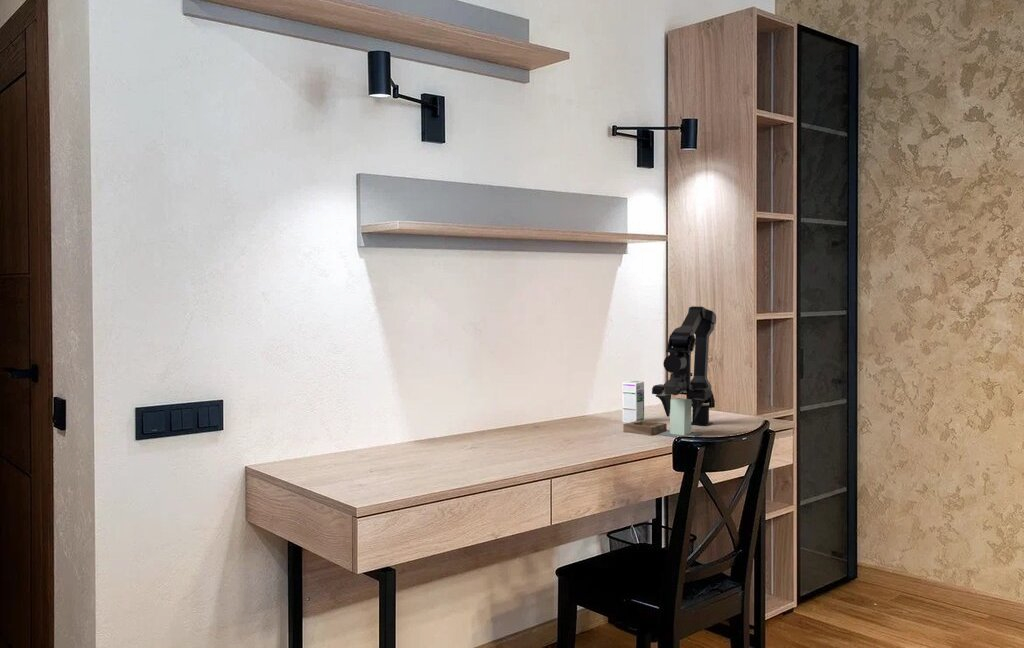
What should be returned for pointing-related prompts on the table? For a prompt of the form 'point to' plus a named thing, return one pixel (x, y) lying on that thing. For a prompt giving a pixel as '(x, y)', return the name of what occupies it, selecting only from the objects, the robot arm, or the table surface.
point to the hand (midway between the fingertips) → (680, 417)
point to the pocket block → (644, 427)
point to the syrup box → (632, 401)
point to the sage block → (680, 416)
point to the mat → (680, 435)
